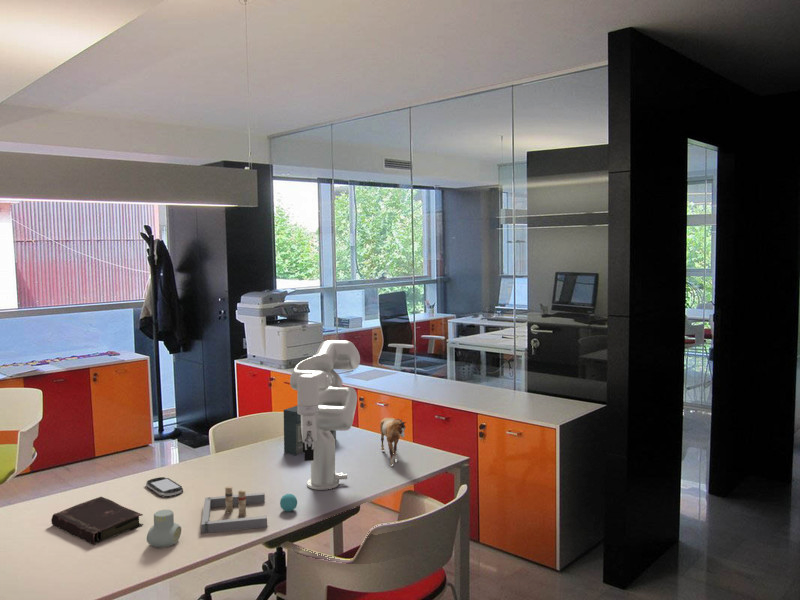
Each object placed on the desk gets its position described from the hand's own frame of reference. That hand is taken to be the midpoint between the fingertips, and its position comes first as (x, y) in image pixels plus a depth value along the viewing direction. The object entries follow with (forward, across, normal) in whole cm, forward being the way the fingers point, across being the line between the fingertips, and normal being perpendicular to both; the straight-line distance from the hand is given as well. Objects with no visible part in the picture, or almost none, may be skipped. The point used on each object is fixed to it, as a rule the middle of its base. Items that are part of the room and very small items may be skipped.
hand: (308, 456), depth 231 cm
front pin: (+19, -2, +23) cm, 30 cm away
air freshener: (+20, -19, +46) cm, 54 cm away
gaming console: (+19, +29, +53) cm, 64 cm away
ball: (+16, -1, +7) cm, 17 cm away
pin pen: (+19, -2, +25) cm, 31 cm away
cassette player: (+17, +72, -6) cm, 74 cm away
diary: (+20, -1, +70) cm, 73 cm away
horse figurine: (+17, +48, -42) cm, 66 cm away
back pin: (+19, +2, +28) cm, 34 cm away
